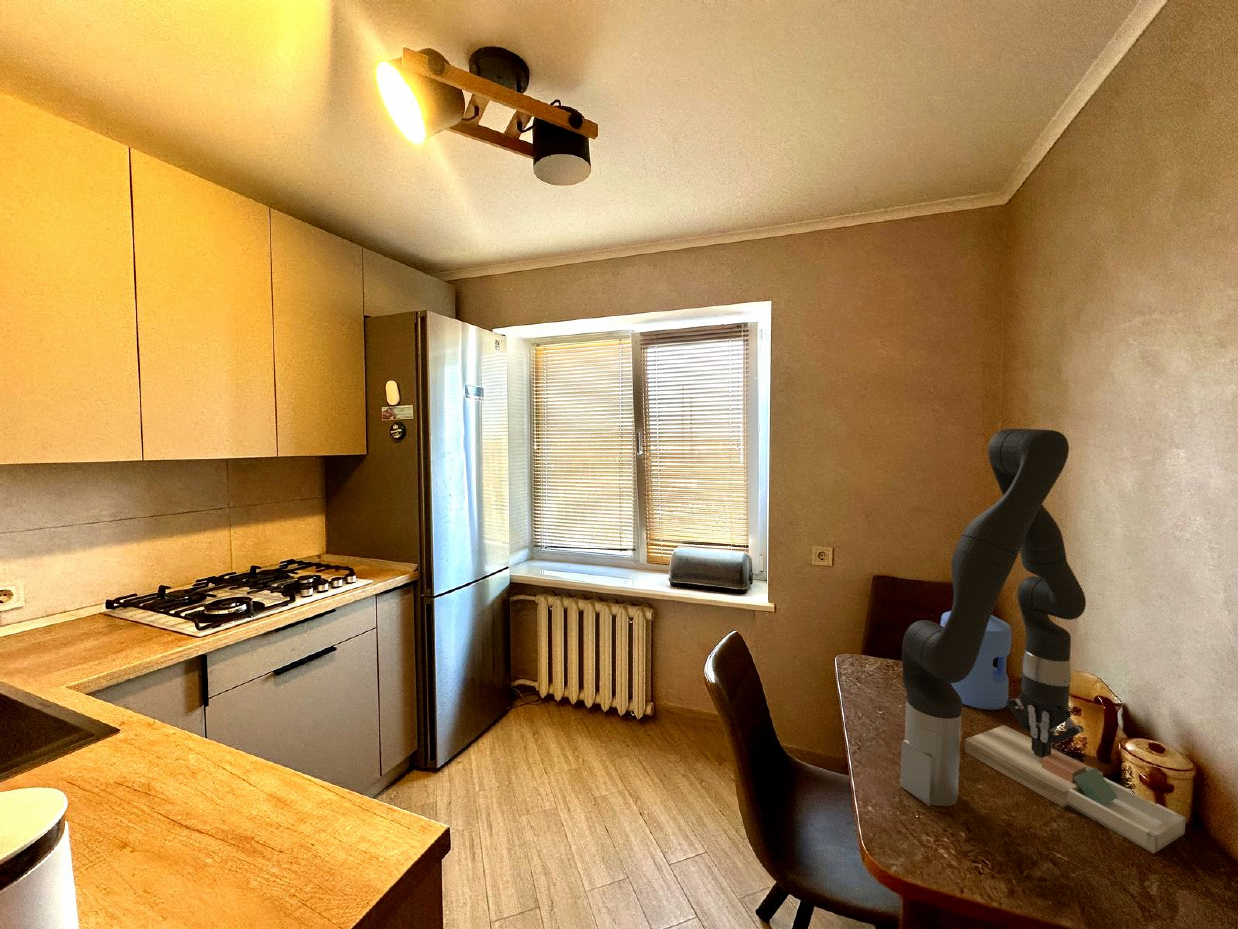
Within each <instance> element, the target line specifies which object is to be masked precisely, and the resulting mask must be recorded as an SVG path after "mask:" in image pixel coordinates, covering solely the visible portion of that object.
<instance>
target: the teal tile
mask: <svg viewBox="0 0 1238 929" xmlns="http://www.w3.org/2000/svg"><path fill="white" fill-rule="evenodd" d="M1092 768H1093V769H1088V770H1085V771H1083V772H1081V773H1079V774H1077V775H1075V776H1073V778H1074V779H1075V781H1076V782H1077V784H1078V785H1079V786H1080V788H1081V789H1082V791H1083V792H1084V793H1085V795H1086V796H1087V797H1088V798H1090V799H1091V800H1093V801H1095V802H1097V803H1099V804H1101V805H1105V804H1107V803H1109V802H1111V801H1112V800H1114V799H1116V798H1118V797H1117V795H1116V794H1115V793H1114V791H1113V790H1112V789H1111V787H1110V786H1109V785H1108V783H1107V782H1106V781H1105V779H1104V778H1105V777H1104V776H1103V777H1104V778H1103V777H1102V775H1101V774H1100V772H1101V771H1100V772H1099V769H1098V768H1097V767H1092Z"/></svg>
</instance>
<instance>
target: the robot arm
mask: <svg viewBox="0 0 1238 929" xmlns="http://www.w3.org/2000/svg"><path fill="white" fill-rule="evenodd" d="M1069 446H1070V445H1069V441H1068V439H1067V437H1066V436H1065V435H1064V434H1063V433H1062V432H1060V431H1057V430H1053V429H1041V428H1040V429H1039V428H1037V429H1035V428H1005V429H1002V430H999V431H997V433H995V434H994V435H993V436H992V437H991V439H990V441H989V444H988V447H987V450H988V451H987V454H988V461H989V463H990V467H991V469H992V470H991V471H992V472H993V474H994V477H995V479H996V482H997V485H998V487H999V490H1000V493H1001V494H1002V496H1001V497H1000V499H998V500H997V501H996V502H994V503H993V504H992V505H991V506H990V507H988V508H987V509H985V510H984V511H983V512H981V513H980V514H979V515H977V516H976V517H975V518H974V519H973V520H971V522H969V523H968V524H967V525H966V527H965V528H964V530H963V531H962V533H961V536H960V538H959V540H958V541H957V544H956V547H955V549H954V552H953V554H952V556H951V557H952V558H951V561H950V562H951V563H950V564H951V568H950V570H951V579H952V590H953V602H952V607H951V610H950V611H951V613H950V615H949V618H948V620H947V622H946V624H945V626H944V627H943V626H941V624H939V623H937V622H934V621H933V620H928V619H927V620H926V619H924V620H923V619H921V620H917V621H915V622H914V623H912V624H910V625H909V627H908V628H907V629H906V631H905V634H904V636H903V640H902V647H901V649H902V650H901V656H902V657H901V659H902V660H901V662H902V663H901V664H902V665H901V666H902V671H901V672H902V676H901V677H902V683H903V687H904V689H905V693H906V702H905V703H906V706H905V726H904V739H903V740H902V741H901V753H900V754H901V756H900V780H899V781H900V782H899V786H900V787H901V788H903V789H904V790H906V791H907V792H908V793H910V794H911V795H913V796H914V797H915V798H917V799H918V800H919V801H921V802H922V803H924V804H925V805H927V806H928V807H931V806H939V807H950V806H953V805H955V804H956V803H957V802H958V796H959V782H960V781H959V775H960V756H961V753H960V752H961V731H962V730H961V729H962V715H963V714H962V711H963V704H962V700H961V698H960V696H959V694H958V693H957V692H956V690H955V689H954V688H953V686H952V684H951V683H957V682H959V681H961V680H963V679H964V678H965V677H966V676H968V674H969V673H970V671H971V670H972V668H973V667H974V664H975V662H976V660H977V657H978V654H979V651H980V647H981V644H982V641H983V638H984V634H985V631H986V628H987V625H988V622H989V619H990V616H991V615H992V613H993V611H994V609H995V606H996V604H997V601H998V599H999V597H1000V594H1001V591H1002V590H1003V587H1004V585H1005V583H1006V580H1008V576H1009V575H1010V574H1011V571H1012V569H1013V567H1014V566H1015V565H1014V564H1015V562H1016V560H1017V558H1018V556H1019V554H1020V559H1021V564H1022V566H1023V568H1024V569H1025V570H1026V571H1027V572H1029V573H1031V574H1033V575H1031V576H1027V577H1025V578H1024V579H1022V581H1021V582H1020V583H1019V585H1018V587H1017V594H1016V595H1017V602H1018V606H1019V608H1020V612H1021V618H1022V620H1023V623H1024V628H1025V648H1024V653H1023V658H1022V667H1021V668H1022V670H1021V671H1022V672H1021V685H1020V686H1021V688H1020V689H1021V693H1020V694H1019V695H1018V698H1017V697H1014V698H1011V699H1008V701H1007V707H1008V708H1009V709H1010V711H1011V713H1012V714H1013V715H1014V717H1015V719H1016V720H1017V722H1018V725H1019V726H1020V728H1021V729H1022V730H1024V731H1027V732H1028V733H1030V735H1031V738H1032V746H1031V748H1032V751H1034V755H1036V756H1038V757H1040V758H1043V757H1045V756H1047V755H1050V754H1051V748H1052V743H1053V744H1055V745H1057V744H1059V743H1061V742H1064V741H1066V740H1068V739H1069V738H1071V737H1073V736H1075V735H1077V734H1079V733H1081V732H1082V733H1083V732H1084V727H1082V726H1080V725H1076V724H1075V723H1074V722H1073V720H1072V719H1071V718H1070V717H1071V714H1070V713H1071V712H1070V710H1069V704H1070V694H1071V693H1070V690H1071V683H1072V682H1071V681H1072V676H1071V675H1072V673H1071V672H1072V670H1071V669H1072V668H1071V645H1072V643H1071V642H1072V636H1071V634H1070V632H1069V631H1068V630H1067V629H1065V628H1064V627H1062V626H1060V625H1058V624H1056V623H1055V622H1054V621H1052V620H1051V618H1050V617H1049V616H1052V617H1055V618H1058V619H1062V620H1067V621H1069V620H1070V621H1071V620H1076V619H1078V618H1079V617H1081V616H1082V615H1083V613H1084V612H1085V609H1086V607H1087V606H1086V605H1087V602H1086V595H1085V592H1084V591H1083V588H1082V586H1081V584H1080V582H1079V580H1078V578H1077V577H1076V574H1075V573H1074V572H1073V570H1072V568H1071V566H1070V565H1069V563H1068V561H1067V554H1066V549H1065V543H1064V539H1063V538H1064V537H1063V534H1062V531H1061V529H1060V527H1059V525H1058V523H1057V522H1056V521H1055V519H1054V518H1053V516H1052V515H1051V513H1050V512H1049V511H1048V510H1047V508H1046V507H1045V505H1044V501H1045V500H1046V499H1047V496H1048V495H1049V494H1050V492H1051V490H1052V489H1053V487H1054V486H1055V484H1056V482H1057V480H1058V479H1059V477H1060V475H1061V474H1062V471H1063V470H1064V468H1065V466H1066V463H1067V460H1068V458H1069V451H1070V447H1069ZM1034 575H1035V576H1034ZM1064 722H1065V726H1064V729H1065V730H1066V731H1064V732H1063V733H1061V734H1059V735H1054V734H1055V730H1056V729H1057V726H1059V725H1060V724H1062V723H1064ZM1082 733H1081V734H1082ZM1052 749H1053V748H1052Z"/></svg>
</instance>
